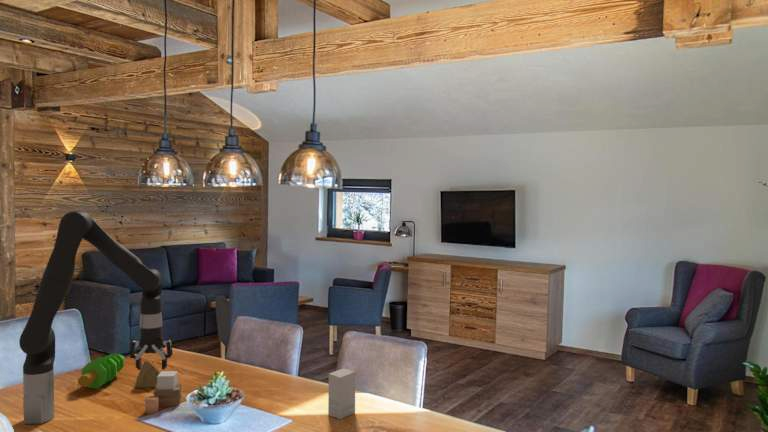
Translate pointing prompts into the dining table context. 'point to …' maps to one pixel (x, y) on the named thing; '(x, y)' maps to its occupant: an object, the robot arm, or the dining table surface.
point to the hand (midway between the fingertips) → (151, 369)
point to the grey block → (167, 380)
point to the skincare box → (341, 393)
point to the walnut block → (169, 396)
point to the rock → (147, 376)
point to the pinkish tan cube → (151, 405)
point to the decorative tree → (101, 371)
